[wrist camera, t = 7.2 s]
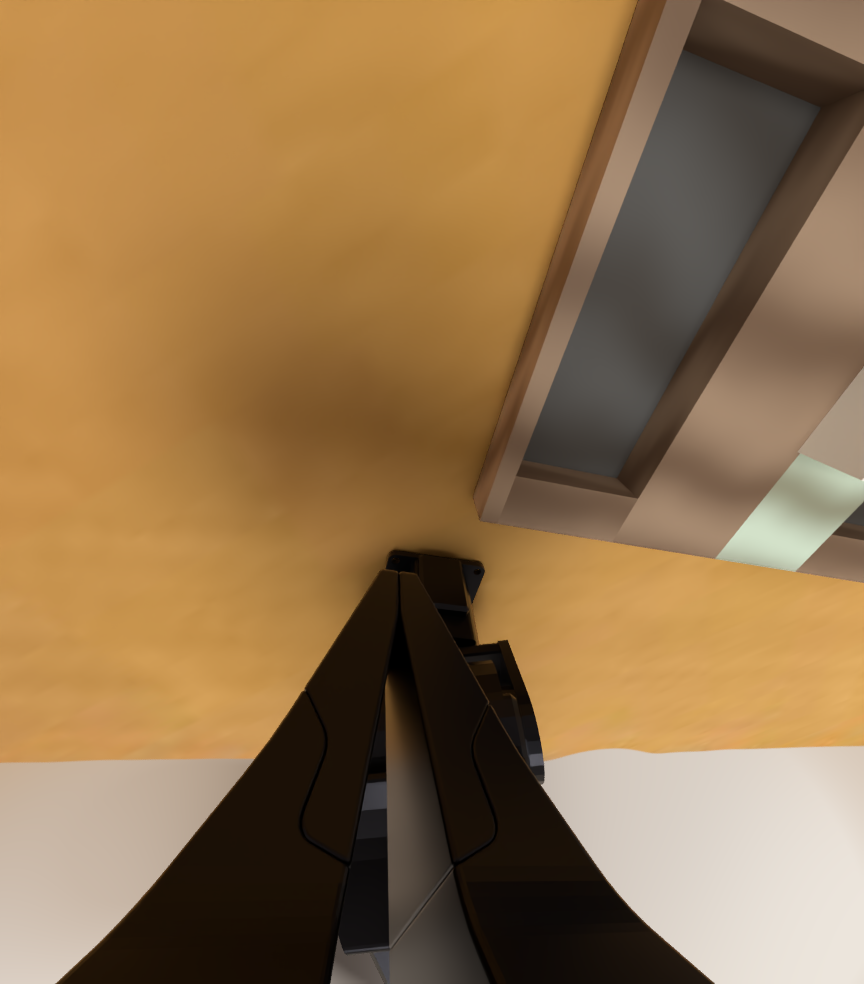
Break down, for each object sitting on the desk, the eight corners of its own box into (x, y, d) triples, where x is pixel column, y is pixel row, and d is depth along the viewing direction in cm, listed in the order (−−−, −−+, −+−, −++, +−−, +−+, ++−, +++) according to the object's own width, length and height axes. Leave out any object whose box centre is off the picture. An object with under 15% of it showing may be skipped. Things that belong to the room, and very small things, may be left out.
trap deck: (863, 563, 26) (903, 589, 24) (472, 496, 21) (479, 521, 19) (1273, 186, 16) (1412, 170, 13) (676, -116, 11) (743, -215, 9)
